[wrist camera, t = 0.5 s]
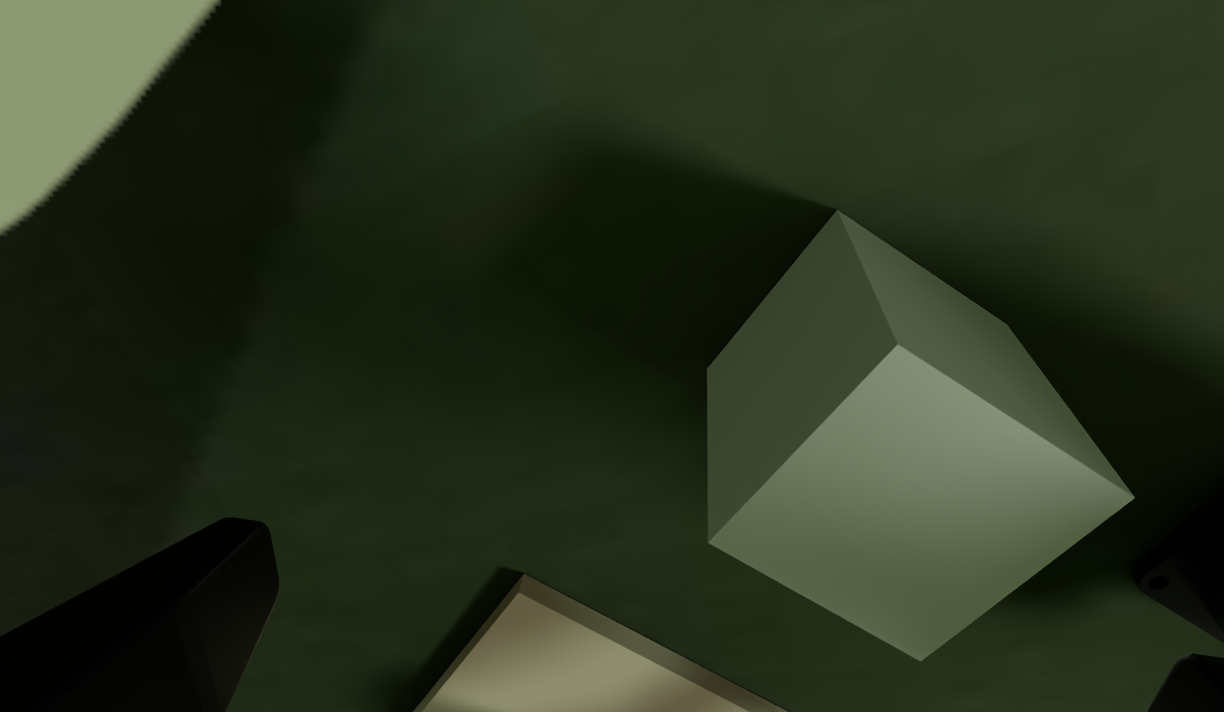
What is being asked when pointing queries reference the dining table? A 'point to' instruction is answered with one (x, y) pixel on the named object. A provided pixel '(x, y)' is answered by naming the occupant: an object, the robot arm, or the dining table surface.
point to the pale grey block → (892, 446)
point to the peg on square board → (575, 665)
